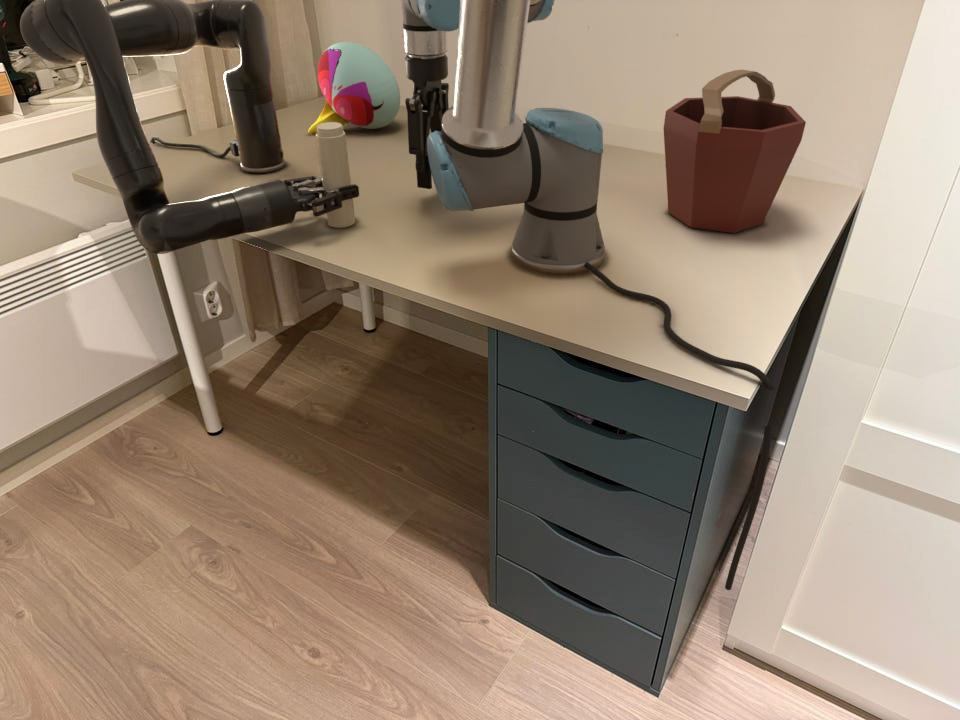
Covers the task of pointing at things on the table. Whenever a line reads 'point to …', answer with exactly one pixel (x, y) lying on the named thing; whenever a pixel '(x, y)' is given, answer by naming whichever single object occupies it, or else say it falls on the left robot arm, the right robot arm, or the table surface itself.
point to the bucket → (728, 154)
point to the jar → (335, 169)
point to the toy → (356, 87)
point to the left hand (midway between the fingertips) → (350, 185)
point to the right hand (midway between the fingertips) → (431, 181)
